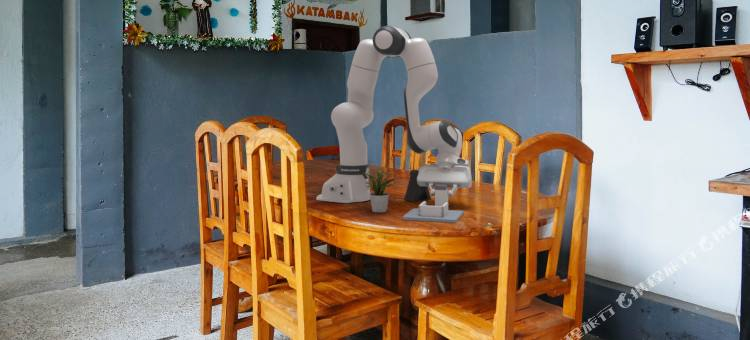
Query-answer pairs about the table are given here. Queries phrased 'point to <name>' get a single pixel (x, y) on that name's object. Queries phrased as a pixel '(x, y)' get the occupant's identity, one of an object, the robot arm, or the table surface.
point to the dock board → (433, 214)
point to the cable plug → (441, 194)
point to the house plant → (379, 191)
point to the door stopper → (416, 189)
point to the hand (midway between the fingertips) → (441, 195)
